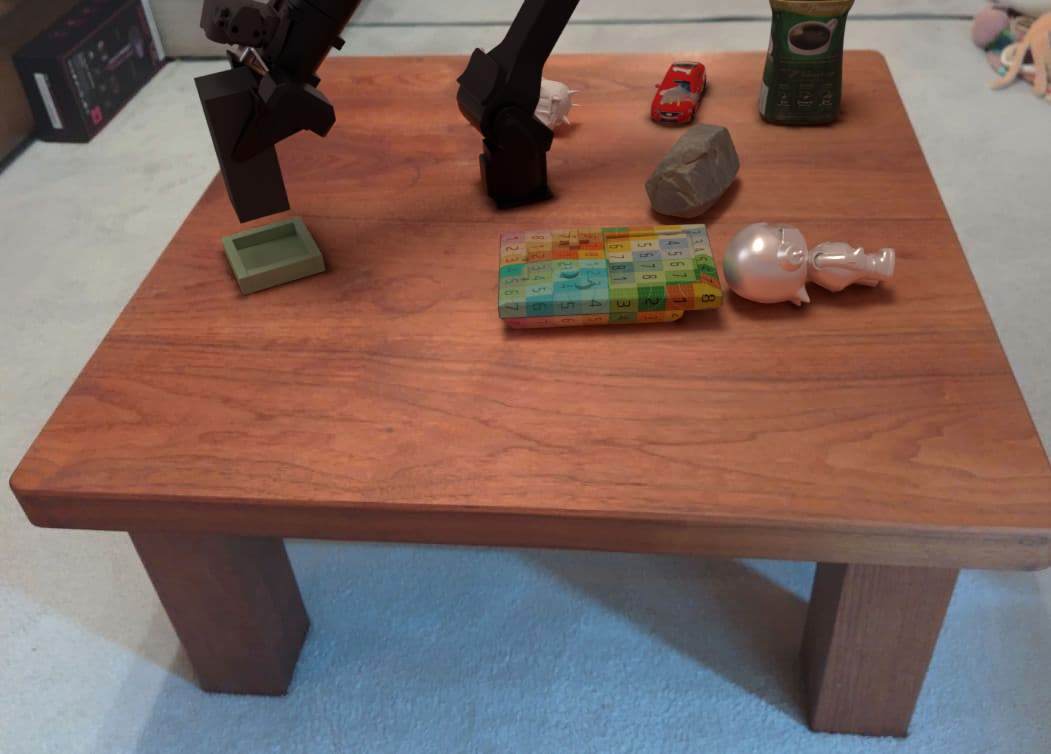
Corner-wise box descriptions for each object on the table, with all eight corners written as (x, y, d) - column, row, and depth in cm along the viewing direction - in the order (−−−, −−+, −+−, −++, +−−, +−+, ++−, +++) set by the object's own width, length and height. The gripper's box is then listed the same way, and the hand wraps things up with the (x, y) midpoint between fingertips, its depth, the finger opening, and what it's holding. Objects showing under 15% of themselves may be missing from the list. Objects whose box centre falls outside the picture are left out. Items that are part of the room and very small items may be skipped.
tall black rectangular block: (278, 185, 102) (247, 64, 93) (290, 209, 98) (260, 86, 90) (229, 199, 101) (193, 77, 92) (240, 224, 97) (204, 100, 88)
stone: (678, 165, 114) (681, 101, 109) (746, 178, 111) (753, 113, 106) (634, 219, 106) (635, 152, 101) (707, 235, 103) (711, 167, 98)
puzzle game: (499, 226, 98) (705, 215, 97) (503, 266, 101) (702, 256, 100) (497, 298, 89) (723, 287, 88) (501, 339, 92) (720, 329, 91)
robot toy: (434, 111, 119) (542, 137, 113) (449, 35, 116) (559, 57, 111) (494, 123, 132) (593, 147, 126) (509, 55, 130) (610, 76, 124)
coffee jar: (835, 98, 124) (859, -58, 112) (841, 128, 118) (867, -33, 106) (755, 97, 126) (771, -57, 114) (757, 126, 120) (773, -32, 108)
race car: (689, 131, 120) (691, 100, 118) (645, 126, 122) (645, 95, 119) (711, 83, 129) (713, 53, 127) (670, 79, 131) (671, 49, 128)
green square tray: (303, 231, 108) (299, 215, 107) (325, 270, 102) (322, 254, 101) (225, 253, 106) (220, 237, 104) (243, 295, 100) (238, 279, 98)
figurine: (911, 223, 88) (746, 204, 87) (906, 306, 88) (740, 289, 86) (859, 246, 99) (711, 230, 97) (855, 321, 98) (705, 306, 97)
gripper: (217, -74, 92) (133, 70, 96) (268, -13, 79) (168, 151, 83) (317, -6, 99) (235, 124, 103) (378, 60, 86) (282, 207, 90)
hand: (229, 148), depth 95 cm, fingers closed on tall black rectangular block, 5 cm apart
